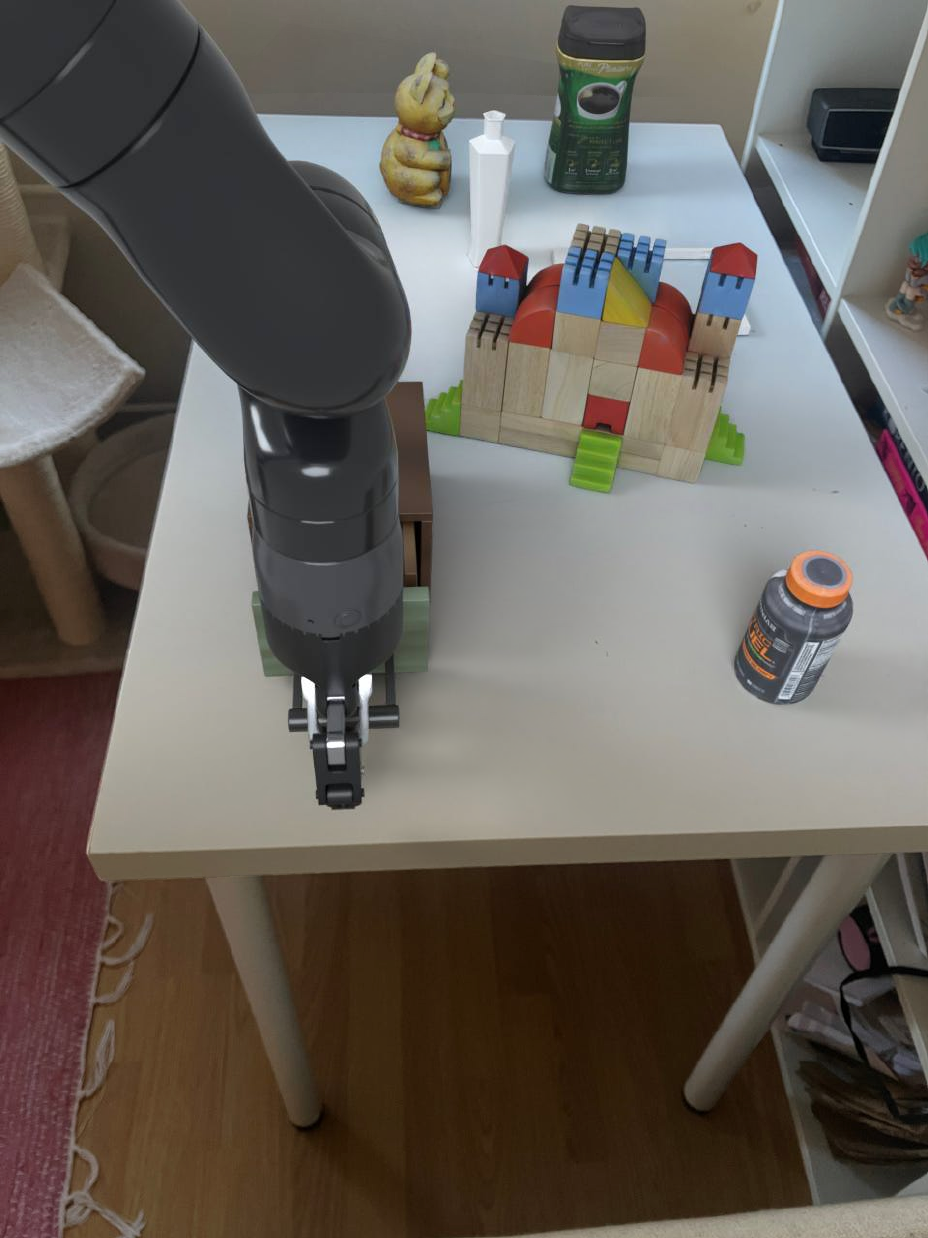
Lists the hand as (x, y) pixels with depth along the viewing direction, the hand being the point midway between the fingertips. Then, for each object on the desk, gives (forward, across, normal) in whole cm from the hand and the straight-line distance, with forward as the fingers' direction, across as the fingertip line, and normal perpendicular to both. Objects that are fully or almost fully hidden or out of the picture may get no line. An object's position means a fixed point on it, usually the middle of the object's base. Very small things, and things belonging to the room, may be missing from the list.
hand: (343, 743), depth 64 cm
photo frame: (+3, -55, +31) cm, 64 cm away
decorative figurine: (+3, -76, +8) cm, 76 cm away
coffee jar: (+3, -79, +28) cm, 84 cm away
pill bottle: (+3, -6, +31) cm, 32 cm away
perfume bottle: (+3, -62, +15) cm, 64 cm away
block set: (+3, -33, +21) cm, 40 cm away
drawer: (+2, -10, 0) cm, 11 cm away
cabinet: (+3, -22, 0) cm, 22 cm away
